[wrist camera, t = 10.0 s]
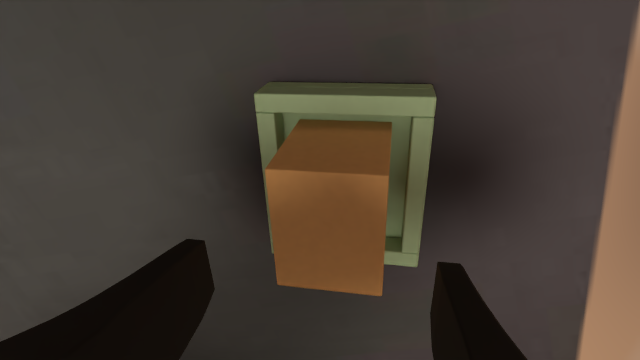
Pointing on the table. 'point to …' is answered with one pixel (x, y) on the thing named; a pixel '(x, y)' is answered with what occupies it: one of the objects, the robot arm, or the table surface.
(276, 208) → the brown rectangular block
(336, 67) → the table surface
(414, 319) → the table surface
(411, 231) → the open green tray
